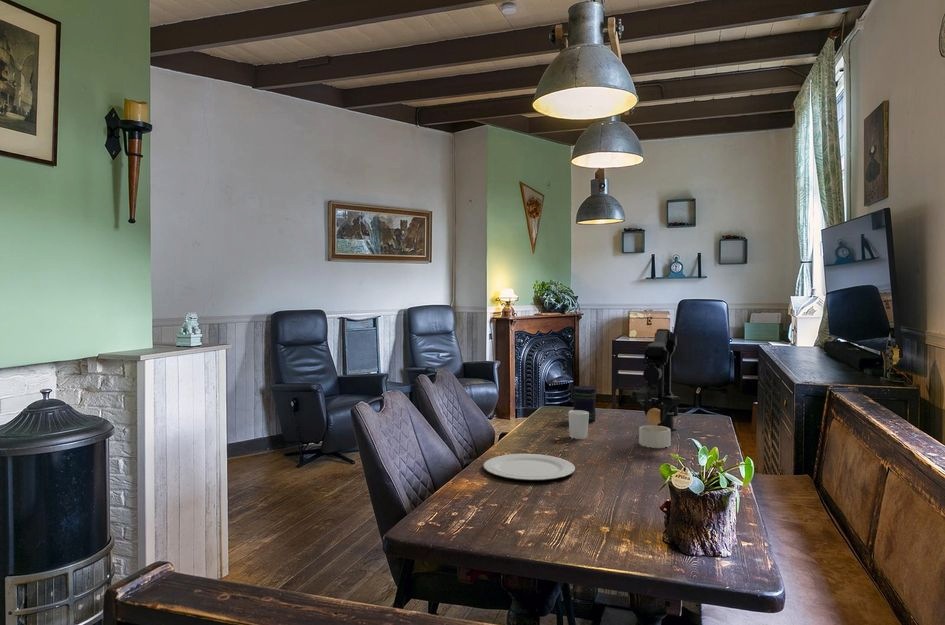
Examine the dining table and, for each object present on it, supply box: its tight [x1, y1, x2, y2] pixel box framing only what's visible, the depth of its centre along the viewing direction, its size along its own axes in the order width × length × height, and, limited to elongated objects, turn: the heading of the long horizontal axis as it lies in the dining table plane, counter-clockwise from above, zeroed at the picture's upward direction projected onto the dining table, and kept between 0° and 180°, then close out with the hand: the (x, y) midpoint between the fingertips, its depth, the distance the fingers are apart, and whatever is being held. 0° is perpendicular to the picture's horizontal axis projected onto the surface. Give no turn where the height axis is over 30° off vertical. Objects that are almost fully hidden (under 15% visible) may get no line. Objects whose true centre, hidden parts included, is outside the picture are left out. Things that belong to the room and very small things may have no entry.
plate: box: [483, 453, 576, 482], centre depth 199 cm, size 29×29×2 cm
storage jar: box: [572, 385, 597, 424], centre depth 276 cm, size 10×10×15 cm
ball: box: [646, 407, 661, 425], centre depth 234 cm, size 6×6×6 cm
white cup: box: [568, 410, 589, 440], centre depth 245 cm, size 8×8×10 cm
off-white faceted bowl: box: [638, 424, 672, 449], centre depth 234 cm, size 11×11×6 cm
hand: (654, 420), depth 234 cm, fingers closed on ball, 6 cm apart
